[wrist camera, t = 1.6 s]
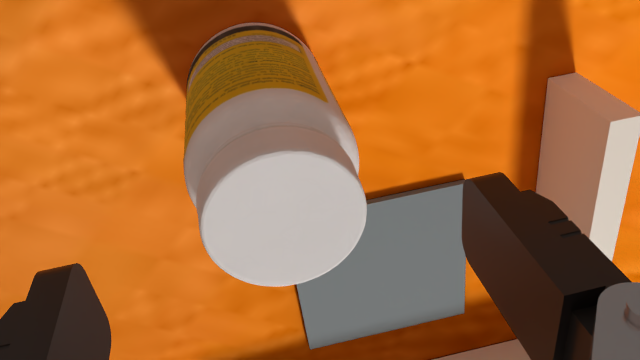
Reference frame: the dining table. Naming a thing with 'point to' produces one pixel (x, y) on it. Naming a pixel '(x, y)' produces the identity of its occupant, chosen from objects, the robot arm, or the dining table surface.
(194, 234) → the dining table surface
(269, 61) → the supplement bottle
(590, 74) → the dining table surface
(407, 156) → the dining table surface
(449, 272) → the pad
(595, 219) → the corner arena
